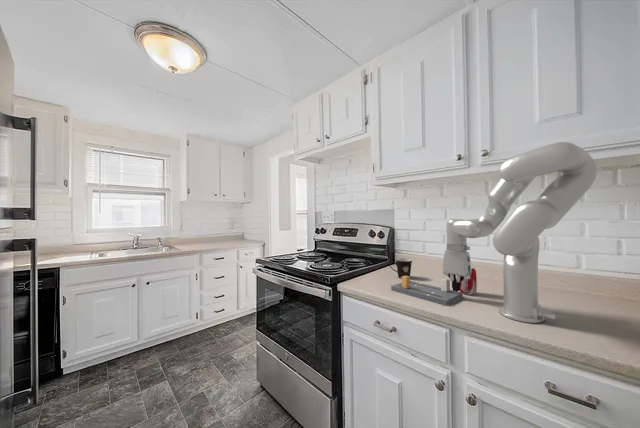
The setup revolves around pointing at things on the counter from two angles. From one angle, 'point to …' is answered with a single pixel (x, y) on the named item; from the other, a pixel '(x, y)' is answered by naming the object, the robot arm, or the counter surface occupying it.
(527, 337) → the counter surface
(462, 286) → the soda can
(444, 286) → the block
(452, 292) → the console
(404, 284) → the block
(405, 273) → the coffee mug
